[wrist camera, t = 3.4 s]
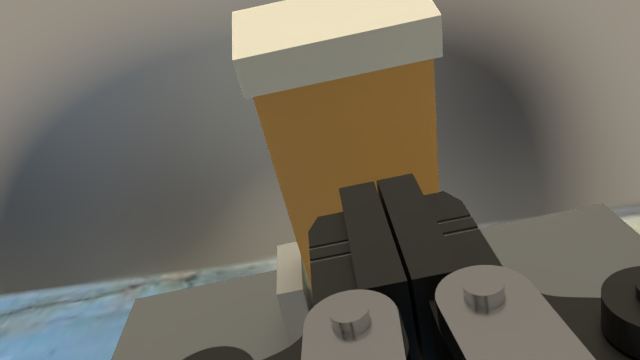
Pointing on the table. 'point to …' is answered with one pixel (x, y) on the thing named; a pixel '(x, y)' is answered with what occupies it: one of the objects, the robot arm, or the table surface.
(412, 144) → the rocker lever
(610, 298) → the robot arm
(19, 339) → the table surface
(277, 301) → the switch box
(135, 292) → the table surface
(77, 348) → the table surface
